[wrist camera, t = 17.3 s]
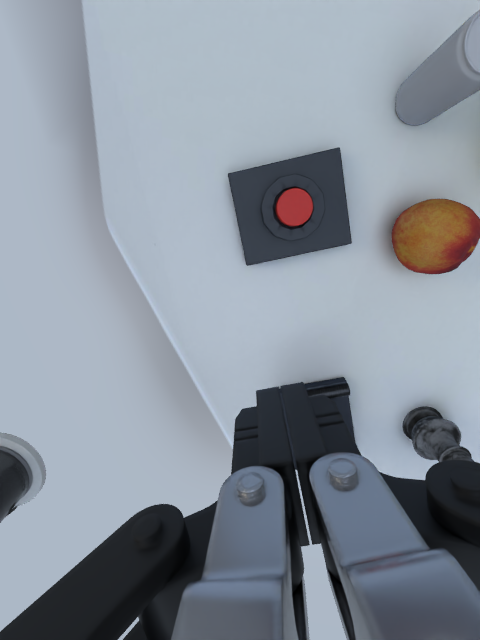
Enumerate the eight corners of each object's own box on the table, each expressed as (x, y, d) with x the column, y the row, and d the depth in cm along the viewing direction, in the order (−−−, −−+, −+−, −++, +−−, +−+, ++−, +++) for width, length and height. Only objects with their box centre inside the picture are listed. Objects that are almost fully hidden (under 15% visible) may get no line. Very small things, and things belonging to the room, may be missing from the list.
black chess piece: (391, 429, 45) (440, 497, 34) (420, 396, 44) (481, 456, 32) (424, 450, 46) (484, 523, 34) (454, 418, 45) (525, 484, 33)
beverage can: (401, 135, 36) (474, 90, 24) (385, 90, 35) (453, 21, 23) (445, 112, 35) (540, 55, 24) (430, 66, 34) (522, -18, 23)
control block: (246, 264, 40) (246, 267, 36) (228, 176, 38) (226, 170, 34) (346, 242, 39) (357, 244, 35) (334, 152, 37) (344, 142, 33)
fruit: (407, 284, 40) (445, 297, 32) (367, 233, 39) (397, 234, 31) (464, 240, 39) (518, 242, 31) (425, 185, 37) (471, 173, 30)
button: (278, 229, 35) (280, 229, 34) (272, 194, 35) (273, 192, 33) (312, 222, 35) (315, 221, 33) (307, 186, 34) (310, 184, 33)
